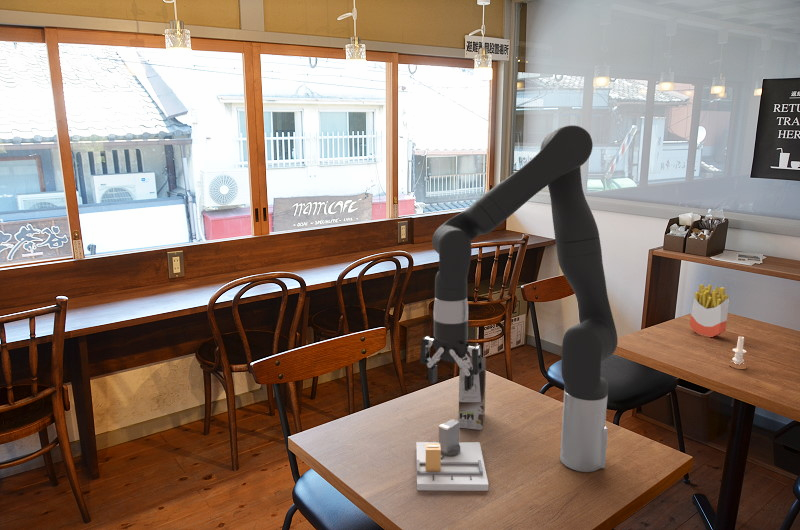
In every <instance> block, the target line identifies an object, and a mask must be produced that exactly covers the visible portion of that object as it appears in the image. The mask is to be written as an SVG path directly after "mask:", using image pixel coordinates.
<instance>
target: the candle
mask: <svg viewBox="0 0 800 530" xmlns="http://www.w3.org/2000/svg"><path fill="white" fill-rule="evenodd" d="M737 338H738V339H737V344H736V347H735V348H732V352H734V357H732V362H734V363H735V364H739V365H740V364H741V363H744V362H745V360H744V359H743V357H744V354H745V353H747V350H745V349H744V342H745V337H744V336H743V335H739V336H738V337H737Z"/></svg>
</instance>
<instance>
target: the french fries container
mask: <svg viewBox="0 0 800 530" xmlns="http://www.w3.org/2000/svg"><path fill="white" fill-rule="evenodd" d="M692 303H693V304H692V308H691V312H690V313H691V314H690V322H689V326H690V328H691V329H692V330H693V331H694V332H696V333H699V334H703V335H707V336H710V337H712V338H715V337H718V336H719V335H721V334H723V333H725V332H726V329H727V320H728V314H729V313H728V312H729V304H730V297H729V295H728V294H726V288H725V287H719V286H715V289H712V284H707V286H705V284H699V285H698V291H696V292H694V298H693V302H692ZM696 333H695V334H696ZM699 334H698V335H699ZM703 335H702V336H703ZM714 336H715V337H714Z"/></svg>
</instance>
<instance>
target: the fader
mask: <svg viewBox="0 0 800 530" xmlns="http://www.w3.org/2000/svg"><path fill="white" fill-rule="evenodd" d="M426 471H434V472H441V447H440V444H426Z"/></svg>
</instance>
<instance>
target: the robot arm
mask: <svg viewBox="0 0 800 530" xmlns="http://www.w3.org/2000/svg"><path fill="white" fill-rule="evenodd" d="M593 147H594V146H593V139H592V137H591V135H590V132H588V130H587V129H585V128H584V127H582V126H579V125H573V124H569V125H568V124H567V125H563V126H561V127H558V128H557V129H555V130H553V131H551V132H549V133H548V134H547V135H546V136H545V137H544V138H543V140H542V142H541V146H540V148H539V149H540V150H539V152H537V154H536V155H535V156H534V157H532V159H530V160H529V161H528V162H526V164H525V165H523V166H522V167H521V168H519V169H518V170H517V171H515V172H514V173H512V174H511V175H510V176H508V177H506V178H505V179H504V180H502V181H501V182H499V183H498V184H496V185H495V186H493V187H492V188H491V189H489V190H488V191H487V192H486V193H484V194H483V195H482V196H481V197H480V198H478V199H477V200H476V201H475V202H474V203H473V204H471V205H470V206H469V207H468V208H466V209H465V210H463V211H462V212H460V213H457V214H456V215H454V216H453V217H451V218H450V219H448V220H446V221H444V223H443V224H441V225H440V226H439V227H437V229H436V230H435V231H434V233H433V235H432V239H431V243H432V247H433V249H434V251H435V252H436V254H438V257H439V258H438V271H437V272H436V274H435V278H434V303H433V312H432V313H433V314H432V315H433V337H434V338H432V337H431V336H429V335H426V336H424V337H423V338H422V339H421V341H420V355H419V362H420V363H421V364H423V365H426V366H427V368H428V369H427V370H428V371H427V372H428V373H427V375H428V376H427V377H428V378H427V379H428V380H429V381H430V382H429V383H431V384H433V385H434V384H435V383H436V382H437V381H438V365H437V363H438V362H439V361H440V360H441V361H443V362H450V363H453V364H456V363H457V366H458V367H459V369H460V368H462V370H463V371H464V373H465V374H466V375H465V381H464V390H465V391H469V390H470V389H471V388H472V387H473V385H474V375H477V374H478V373H479V372H481V371H482V357H483V354H482V353H483V352H482V351H483V350H482V346H481V345H480V344H478V345H476V346H473V345H469V342H468V339H469V303H468V275H469V272H470V265H471V260H472V240H474V239H475V238H477V237H478V236H481V235H487V234H490V233H491V232H492V231H494V230H495V229H496V228H498V227H499V226H500V225H502V224H503V222H504V221H506V220H507V219H509V217H511V216H512V215H513V214H514V213H515V212H517V211H518V210H519V209H520V208H521V207H523V205H525V204H526V203H527V202H528V201H529V200H530V199H532V198H533V197H535V196H536V194H538V193H540V192H541V191H542V190H543V189H545V188H546V187H548V191H549V197H550V206H551V215H552V216H551V217H552V223H553V231H554V240H555V241H554V242H555V243H554V244H555V248H556V257H557V262H558V265H559V268H560V270H561V273H562V274H563V276H564V278H565V280H567V282H568V284H569V285H570V288H571V289H572V290H573V293H574V295H575V297H576V301H577V307H578V314H579V315H578V316H579V323H577V324H576V325H573V326H571V327H569V328H568V329H567V330H566V331H565V333H564V336H563V338H562V344H561V377H562V378H561V379H562V381H563V385H564V386H563V387H564V389H563V404H562V418H561V419H562V421H561V423H562V424H561V438H560V451H559V452H560V455H559V461H560V462H561V464H563V465H564V466H565V467H567V468H568V469H571V470H572V471H573V470H574V471H577V472H583V473H589V472H590V473H591V472H595V471H597V470H600V469H606V461H607V460H606V459H607V450H608V449H607V448H608V435H609V434H608V433H609V430H608V429H609V428H608V427H607V426H606V422H607V421H606V420H607V408H608V407H607V406H608V405H607V404H608V396H609V395H608V394H609V383H608V381H607V379H606V378H604V377H603V376H601V375H602V374H601V373H602V362H603V361H605V360H607V359H609V358H610V357H611V356H613V355H614V354H615V352H616V350H617V347H618V343H619V342H618V334H617V327H616V324H615V320H614V317H613V313H612V309H611V305H610V300H609V296H608V290H607V283H606V275H605V270H604V269H605V268H604V262H603V255H602V245H601V240H600V233H599V228H598V224H597V222H596V220H595V217H594V215H593V212H592V210H591V208H590V206H589V204H588V202H587V199H586V196H585V193H584V190H583V183H582V173H581V172H582V169H581V167H582V166H583V165H584V164H585V163H587V161H588V159H590V157H591V154H592V152H593ZM431 347H433V348H434V350H435V353H434V354H433V356H432V357H431ZM468 352H469V356H468V354H467V353H468ZM469 357H472V364H471V363H470V359H469ZM462 358H463V361H462Z"/></svg>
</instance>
